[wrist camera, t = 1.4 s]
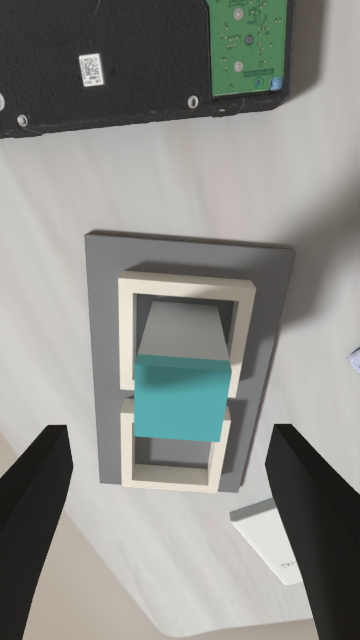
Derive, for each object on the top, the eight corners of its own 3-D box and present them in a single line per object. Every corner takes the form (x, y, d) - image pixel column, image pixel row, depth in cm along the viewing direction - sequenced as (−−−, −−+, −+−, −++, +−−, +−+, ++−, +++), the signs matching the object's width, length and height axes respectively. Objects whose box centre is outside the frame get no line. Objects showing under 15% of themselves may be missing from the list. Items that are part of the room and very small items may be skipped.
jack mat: (237, 487, 27) (238, 492, 26) (101, 477, 26) (100, 483, 26) (292, 249, 18) (295, 251, 17) (87, 233, 17) (84, 234, 17)
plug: (209, 360, 20) (219, 442, 14) (150, 355, 20) (133, 436, 14) (217, 305, 19) (232, 371, 12) (152, 300, 19) (134, 364, 12)
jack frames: (215, 476, 25) (217, 493, 24) (125, 469, 25) (121, 486, 24) (251, 280, 18) (256, 288, 17) (123, 270, 18) (118, 278, 16)
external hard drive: (310, 477, 27) (354, 549, 31) (228, 506, 29) (280, 570, 33) (317, 494, 25) (362, 567, 30) (230, 523, 27) (284, 588, 32)
